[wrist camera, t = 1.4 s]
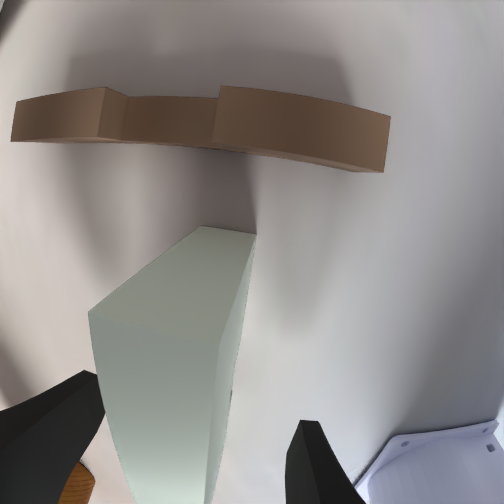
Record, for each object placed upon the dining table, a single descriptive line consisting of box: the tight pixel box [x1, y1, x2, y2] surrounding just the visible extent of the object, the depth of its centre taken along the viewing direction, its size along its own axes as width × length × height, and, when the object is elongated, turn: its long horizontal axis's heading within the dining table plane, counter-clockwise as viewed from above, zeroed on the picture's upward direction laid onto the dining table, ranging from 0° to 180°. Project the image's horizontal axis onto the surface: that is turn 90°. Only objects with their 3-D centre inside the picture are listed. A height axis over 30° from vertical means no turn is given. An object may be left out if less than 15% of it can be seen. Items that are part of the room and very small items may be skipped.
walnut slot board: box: [10, 86, 391, 173], centre depth 8 cm, size 12×2×3 cm, turn 82°
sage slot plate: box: [88, 226, 257, 504], centre depth 9 cm, size 12×2×7 cm, turn 172°
